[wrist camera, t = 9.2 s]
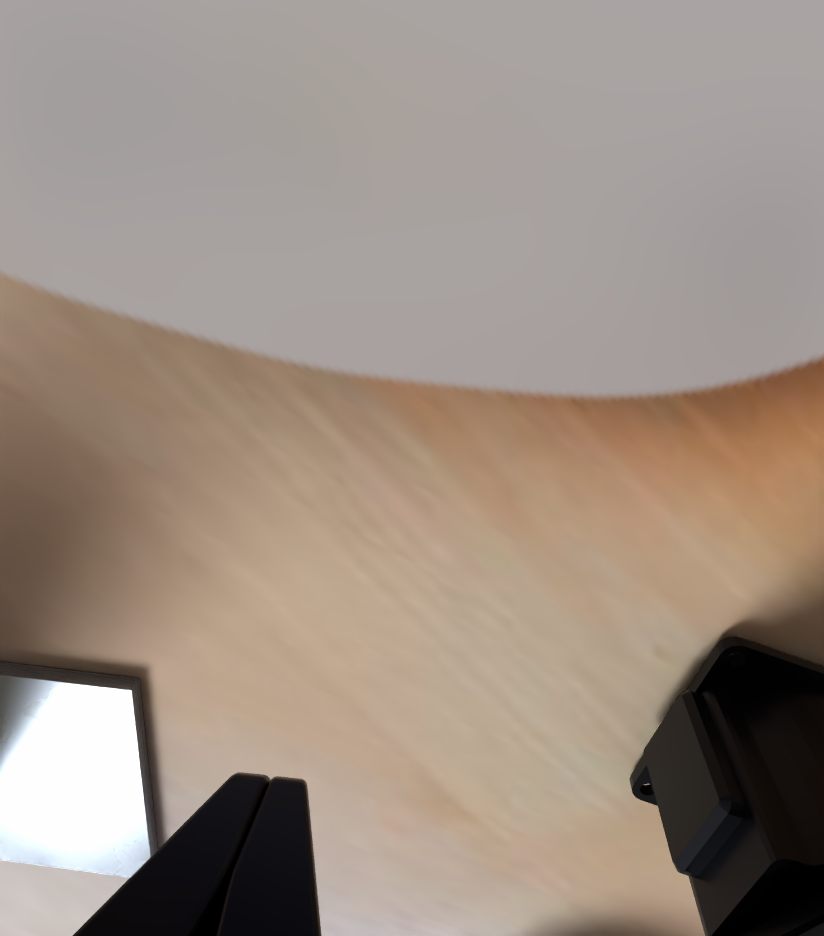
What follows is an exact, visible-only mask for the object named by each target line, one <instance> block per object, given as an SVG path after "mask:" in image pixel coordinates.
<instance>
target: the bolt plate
mask: <svg viewBox="0 0 824 936" xmlns="http://www.w3.org/2000/svg"><path fill="white" fill-rule="evenodd" d="M157 850H158V844H157V835H156V826H155V817H154V808H153V798H152V789H151V780H150V771H149V761H148V752H147V743H146V734H145V725H144V715H143V706H142V697H141V688H140V678H133V677H125V676H116V675H108V674H100V673H91V672H83V671H74V670H66V669H58V668H49V667H41V666H33V665H24V664H16V663H8V662H0V860H4V861H11V862H18V863H26V864H33V865H40V866H48V867H55V868H62V869H70V870H77V871H84V872H92V873H99V874H106V875H114V876H121V877H129V878H130V877H131V876H132V875H133V874H134V873H135V872H136V871H137V870H138V869H139V868H140V867H141V866H142V865H143V864H144V863H145V862H146V861H147V860H148V859H149V858H150V857H151V856H152V855H153V854H154V853H155V852H156V851H157Z"/></svg>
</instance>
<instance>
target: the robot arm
mask: <svg viewBox="0 0 824 936" xmlns="http://www.w3.org/2000/svg"><path fill="white" fill-rule="evenodd" d="M736 652H738V653H740V654H739V655H738V656H737V657H734V658H728V656H730V655H731V654H732V653H736ZM647 783H649V784H650V785H643V784H647ZM630 784H631V788H632V792H633V794H634V796H635V797H636V798H638V799H640V800H642V801H645V802H648V803H651V804H654V805H657V806H658V808H659V812H660V816H661V820H662V823H663V827H664V831H665V835H666V838H667V842H668V846H669V850H670V854H671V857H672V861H673V863H674V865H675V867H676V869H677V871H678V872H679V873H682V874H685V875H688V876H689V879H690V883H691V886H692V890H693V893H694V897H695V900H696V904H697V907H698V911H699V915H700V918H701V922H702V925H703V929H704V932H705V936H824V667H823V666H820V665H818V664H815V663H812V662H809V661H806V660H803V659H800V658H798V657H795V656H792V655H789V654H786V653H783V652H780V651H777V650H775V649H772V648H769V647H766V646H763V645H760V644H757V643H755V642H752V641H749V640H746V639H743V638H739V637H728V638H725V639H723V640H721V641H720V642H719V643H718V644H717V645H716V646H715V648H714V649H713V651H712V652H711V654H710V655H709V657H708V658H707V660H706V662H705V663H704V665H703V666H702V668H701V669H700V671H699V672H698V674H697V675H696V677H695V678H694V680H693V681H692V683H691V684H690V686H689V687H688V689H687V690H686V691H685V692H684V693H682V694H681V695H679V697H678V698H677V700H676V701H675V703H674V704H673V706H672V707H671V709H670V711H669V712H668V714H667V715H666V717H665V718H664V720H663V721H662V723H661V724H660V726H659V727H658V729H657V730H656V732H655V733H654V735H653V736H652V738H651V740H650V741H649V743H648V744H647V746H646V747H645V749H644V756H643V757H642V759H641V760H640V762H639V763H638V765H637V766H636V768H635V769H634V771H633V773H632V774H631V776H630ZM73 936H321V926H320V916H319V905H318V895H317V884H316V873H315V863H314V852H313V842H312V831H311V821H310V810H309V799H308V789H307V783H306V782H305V781H304V780H303V779H297V778H288V777H279V776H278V777H274V778H272V779H271V780H270V778H269V777H268V776H266V775H261V774H251V773H236V774H234V775H232V776H231V777H230V778H229V779H228V780H227V781H226V782H225V783H224V784H223V785H222V786H221V787H220V788H219V789H218V790H217V791H216V792H215V793H214V794H213V795H212V796H211V797H210V798H209V799H208V800H207V801H206V802H205V803H204V804H203V805H202V806H201V807H200V808H199V809H198V810H197V811H196V812H195V813H194V814H193V815H192V816H191V817H190V818H189V819H188V820H187V821H186V822H185V823H184V824H183V825H182V826H181V827H180V828H179V829H178V830H177V831H176V832H175V833H174V834H173V835H172V836H171V837H170V838H169V839H168V840H167V841H166V842H165V843H164V844H163V845H162V846H161V847H160V848H159V849H158V850H157V851H156V852H155V853H154V854H153V855H152V856H151V857H150V858H149V859H148V860H147V861H146V862H145V863H144V864H143V865H142V866H141V867H140V868H139V869H138V870H137V871H136V872H135V873H134V874H133V875H132V876H131V877H130V878H129V879H128V880H127V881H126V882H125V883H124V884H123V885H122V887H121V888H120V889H119V890H118V891H117V892H116V893H115V894H114V895H113V896H112V897H111V898H110V899H109V900H108V901H107V902H106V903H105V904H104V905H103V906H102V907H101V908H100V909H99V910H98V911H97V912H96V913H95V914H94V915H93V916H92V917H91V918H90V919H89V920H88V921H87V922H86V923H85V924H84V925H83V926H82V927H81V928H80V929H79V930H78V931H77V932H76V933H75V934H74V935H73Z"/></svg>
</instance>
